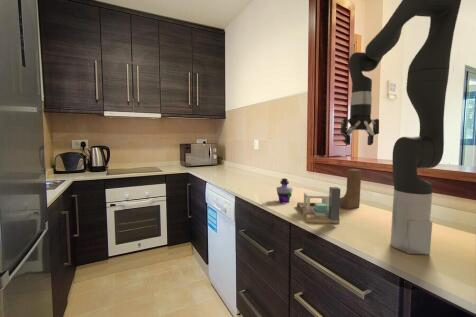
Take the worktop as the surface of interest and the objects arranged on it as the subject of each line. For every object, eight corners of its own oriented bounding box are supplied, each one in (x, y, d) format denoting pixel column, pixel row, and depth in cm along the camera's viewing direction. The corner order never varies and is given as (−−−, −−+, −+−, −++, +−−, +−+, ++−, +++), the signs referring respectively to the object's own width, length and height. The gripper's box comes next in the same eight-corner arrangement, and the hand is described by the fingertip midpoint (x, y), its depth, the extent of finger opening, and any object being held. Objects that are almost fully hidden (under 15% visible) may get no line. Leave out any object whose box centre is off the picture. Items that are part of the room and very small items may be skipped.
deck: (339, 223, 95) (339, 218, 95) (308, 222, 95) (308, 217, 95) (322, 207, 117) (322, 202, 117) (297, 206, 118) (297, 202, 118)
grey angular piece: (339, 220, 92) (340, 188, 91) (318, 220, 92) (319, 188, 91) (329, 212, 102) (331, 183, 101) (311, 211, 102) (312, 183, 101)
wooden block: (347, 209, 114) (349, 170, 112) (339, 207, 118) (340, 169, 116) (359, 207, 118) (361, 169, 116) (351, 204, 122) (353, 168, 120)
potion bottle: (289, 204, 121) (289, 180, 120) (272, 202, 126) (273, 178, 125) (294, 200, 129) (295, 178, 128) (279, 198, 133) (279, 176, 132)
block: (327, 215, 98) (327, 205, 97) (316, 215, 98) (317, 205, 97) (324, 212, 102) (324, 203, 101) (314, 212, 102) (314, 202, 101)
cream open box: (328, 211, 103) (329, 196, 103) (307, 211, 104) (307, 195, 103) (323, 206, 110) (324, 192, 110) (303, 206, 111) (304, 192, 110)
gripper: (346, 102, 95) (344, 145, 96) (384, 103, 94) (381, 145, 95) (339, 105, 102) (337, 144, 104) (374, 105, 102) (372, 145, 103)
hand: (358, 144), depth 100 cm, fingers open, 8 cm apart
